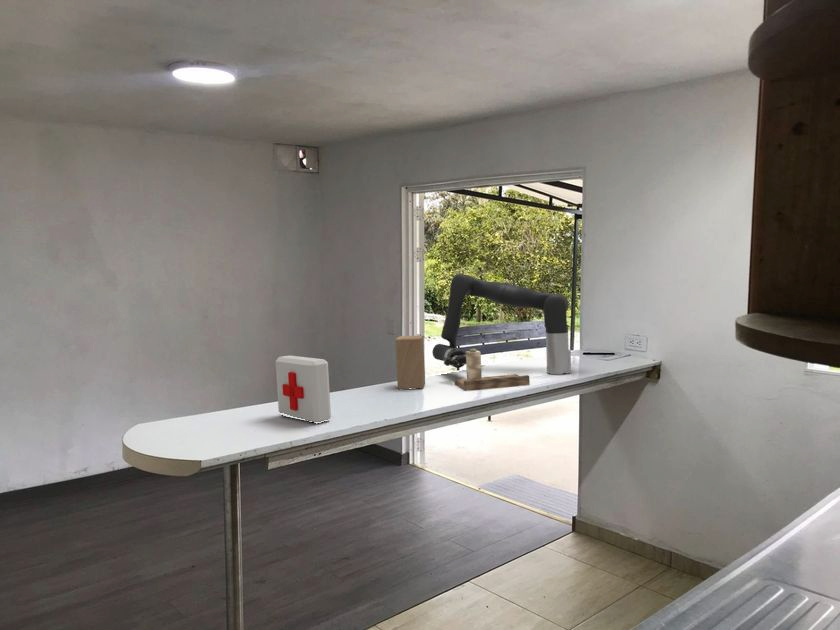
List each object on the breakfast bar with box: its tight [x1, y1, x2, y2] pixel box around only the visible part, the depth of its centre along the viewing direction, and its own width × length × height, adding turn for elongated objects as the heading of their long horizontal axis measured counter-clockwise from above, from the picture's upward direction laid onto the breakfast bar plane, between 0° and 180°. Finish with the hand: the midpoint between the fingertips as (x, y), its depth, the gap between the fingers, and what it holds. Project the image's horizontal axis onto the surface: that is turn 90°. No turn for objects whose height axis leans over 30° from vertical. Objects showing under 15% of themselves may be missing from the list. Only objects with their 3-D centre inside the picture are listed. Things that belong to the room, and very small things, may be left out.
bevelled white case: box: [275, 355, 332, 422], centre depth 214 cm, size 21×8×20 cm, turn 46°
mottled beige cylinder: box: [465, 348, 482, 380], centre depth 254 cm, size 4×4×13 cm
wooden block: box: [395, 335, 426, 390], centre depth 261 cm, size 10×10×20 cm
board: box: [454, 373, 531, 392], centre depth 259 cm, size 26×14×4 cm, turn 104°
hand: (467, 362), depth 262 cm, fingers open, 8 cm apart
